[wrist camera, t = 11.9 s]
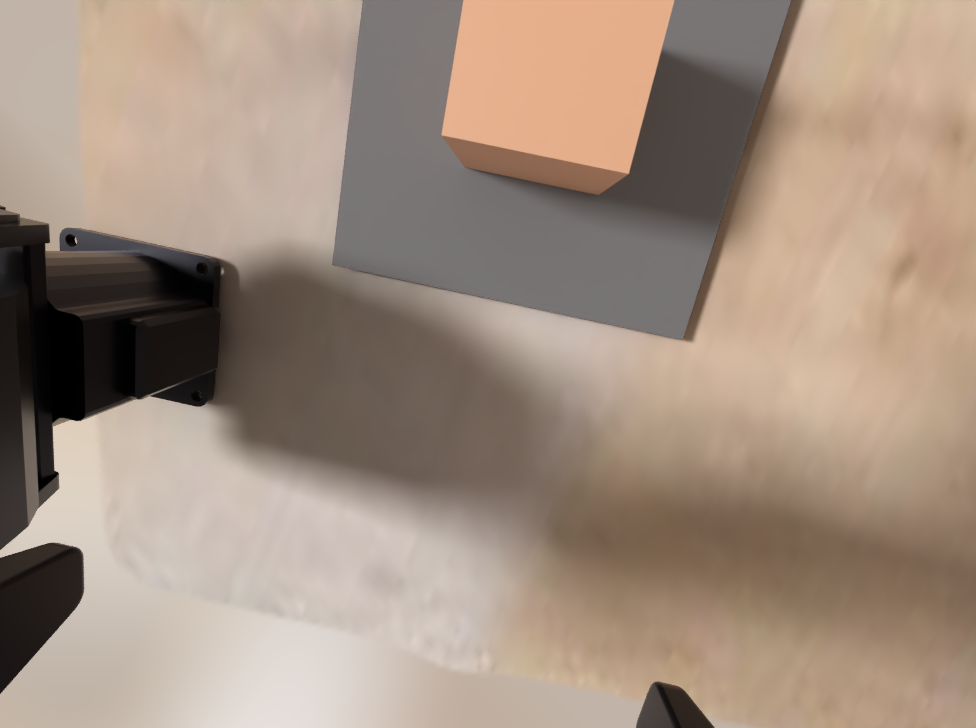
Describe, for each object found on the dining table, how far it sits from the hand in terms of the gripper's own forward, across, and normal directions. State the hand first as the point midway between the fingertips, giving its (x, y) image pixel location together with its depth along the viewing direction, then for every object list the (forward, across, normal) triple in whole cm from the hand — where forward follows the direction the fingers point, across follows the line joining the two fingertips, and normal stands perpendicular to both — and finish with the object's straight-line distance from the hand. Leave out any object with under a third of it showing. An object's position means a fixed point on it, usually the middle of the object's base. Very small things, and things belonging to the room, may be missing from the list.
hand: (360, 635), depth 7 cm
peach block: (+12, -1, -11) cm, 17 cm away
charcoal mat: (+13, -1, -11) cm, 17 cm away
